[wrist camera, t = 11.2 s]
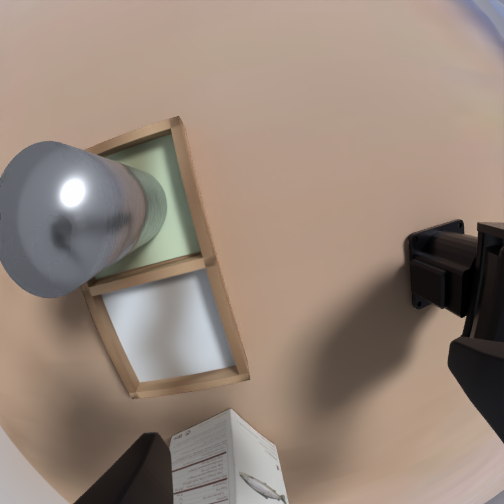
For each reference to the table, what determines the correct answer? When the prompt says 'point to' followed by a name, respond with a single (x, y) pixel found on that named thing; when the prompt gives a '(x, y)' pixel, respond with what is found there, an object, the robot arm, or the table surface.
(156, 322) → the wooden divided tray
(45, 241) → the grey metal cylinder
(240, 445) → the supplement box
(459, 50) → the table surface
